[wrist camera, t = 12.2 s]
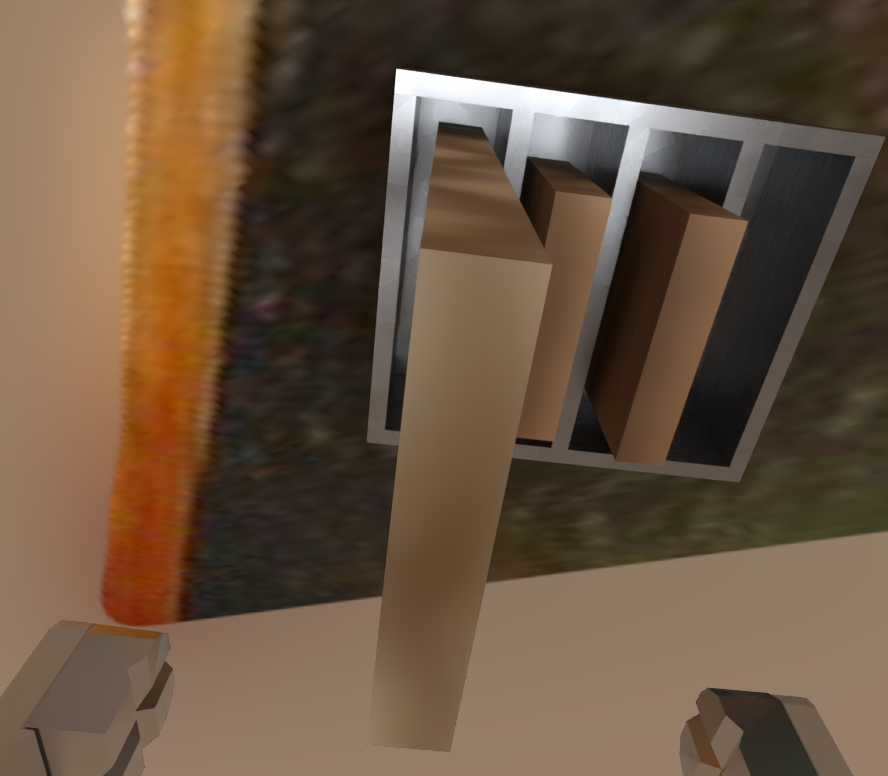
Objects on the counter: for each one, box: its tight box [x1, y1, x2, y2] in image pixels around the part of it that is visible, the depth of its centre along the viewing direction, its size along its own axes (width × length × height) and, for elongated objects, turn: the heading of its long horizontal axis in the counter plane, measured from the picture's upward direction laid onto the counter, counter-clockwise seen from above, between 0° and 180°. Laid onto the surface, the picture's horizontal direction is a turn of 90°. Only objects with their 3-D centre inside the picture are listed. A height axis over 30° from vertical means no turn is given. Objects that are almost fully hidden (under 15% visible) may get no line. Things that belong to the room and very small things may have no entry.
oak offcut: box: [516, 156, 613, 441], centre depth 28 cm, size 2×10×9 cm, turn 173°
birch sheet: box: [366, 121, 552, 752], centre depth 22 cm, size 2×12×22 cm, turn 173°
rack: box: [367, 67, 885, 482], centre depth 30 cm, size 18×16×8 cm
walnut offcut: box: [584, 171, 748, 466], centre depth 28 cm, size 2×10×10 cm, turn 173°
